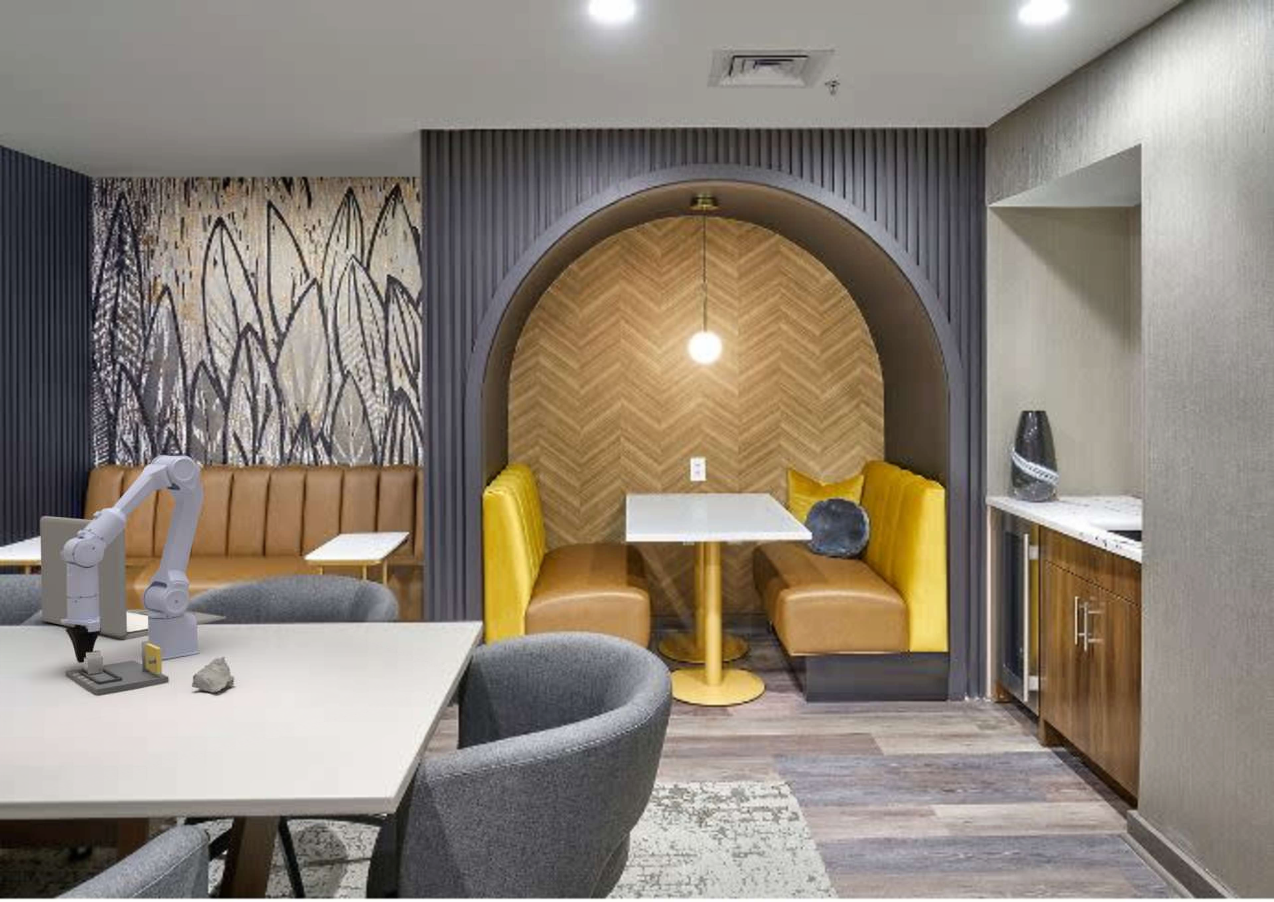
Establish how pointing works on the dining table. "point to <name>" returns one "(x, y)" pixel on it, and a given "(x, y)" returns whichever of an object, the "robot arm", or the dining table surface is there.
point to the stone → (213, 676)
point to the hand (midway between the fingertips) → (84, 661)
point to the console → (118, 677)
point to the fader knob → (93, 662)
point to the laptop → (109, 578)
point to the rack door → (153, 658)
